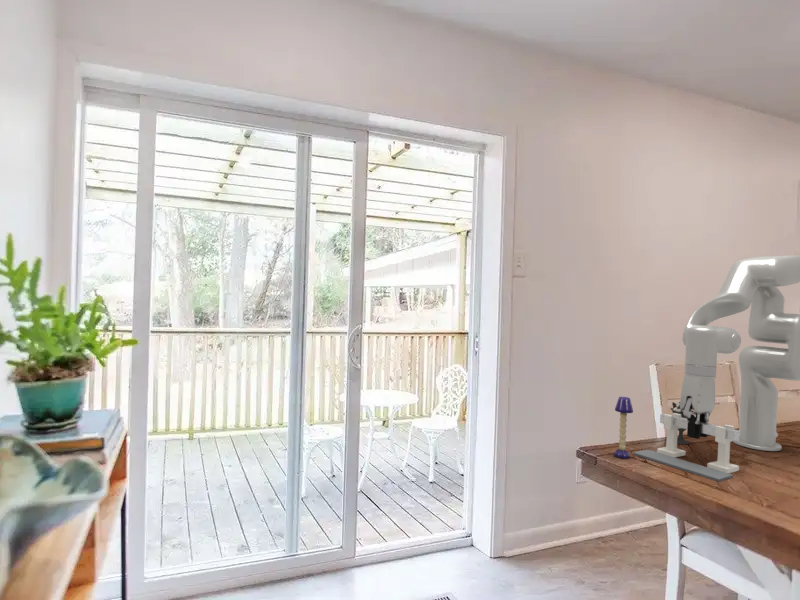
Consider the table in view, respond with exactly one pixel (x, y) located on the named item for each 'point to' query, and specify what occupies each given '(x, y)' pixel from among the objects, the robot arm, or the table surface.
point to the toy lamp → (623, 425)
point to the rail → (703, 427)
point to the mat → (684, 465)
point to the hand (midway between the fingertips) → (697, 436)
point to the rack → (672, 451)
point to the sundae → (680, 438)
